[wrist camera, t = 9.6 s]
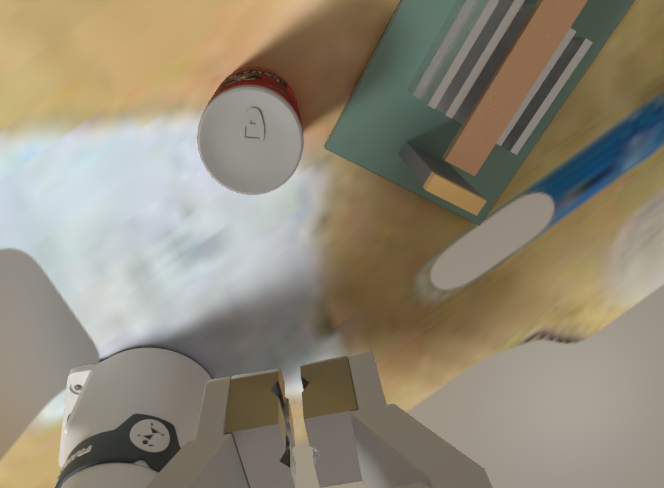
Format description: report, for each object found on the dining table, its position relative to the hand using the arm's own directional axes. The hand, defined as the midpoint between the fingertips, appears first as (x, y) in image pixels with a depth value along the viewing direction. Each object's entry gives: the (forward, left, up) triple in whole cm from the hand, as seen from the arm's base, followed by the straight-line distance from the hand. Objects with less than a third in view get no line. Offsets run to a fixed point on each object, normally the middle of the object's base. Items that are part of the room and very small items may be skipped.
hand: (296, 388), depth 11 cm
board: (+9, -15, -39) cm, 43 cm away
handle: (+10, -15, -32) cm, 37 cm away
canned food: (-3, +1, -39) cm, 40 cm away
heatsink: (+10, -15, -39) cm, 43 cm away
